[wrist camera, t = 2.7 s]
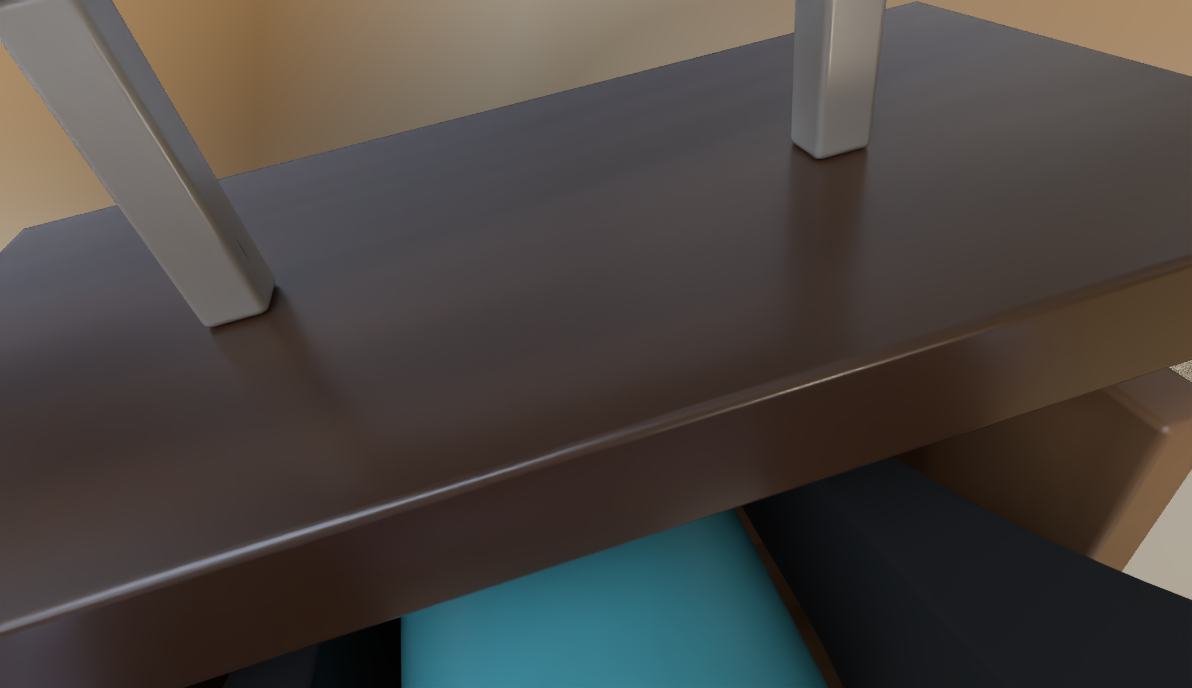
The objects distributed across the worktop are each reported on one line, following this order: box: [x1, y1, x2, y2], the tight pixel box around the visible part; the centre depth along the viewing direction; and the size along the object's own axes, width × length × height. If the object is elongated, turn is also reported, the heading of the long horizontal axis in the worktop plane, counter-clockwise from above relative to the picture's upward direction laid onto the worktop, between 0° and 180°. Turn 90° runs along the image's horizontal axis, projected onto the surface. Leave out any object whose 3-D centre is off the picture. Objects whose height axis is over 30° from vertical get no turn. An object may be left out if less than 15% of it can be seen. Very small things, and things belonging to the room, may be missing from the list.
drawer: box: [0, 0, 1192, 688], centre depth 9 cm, size 17×13×7 cm
